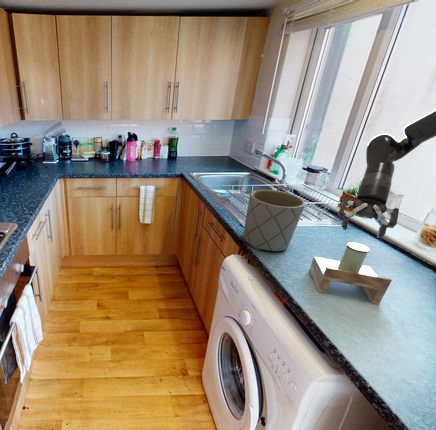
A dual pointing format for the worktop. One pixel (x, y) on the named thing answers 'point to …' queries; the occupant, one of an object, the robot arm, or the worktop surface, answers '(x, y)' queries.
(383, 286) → the wooden riser stand
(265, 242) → the planter
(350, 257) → the jar
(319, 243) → the worktop surface
